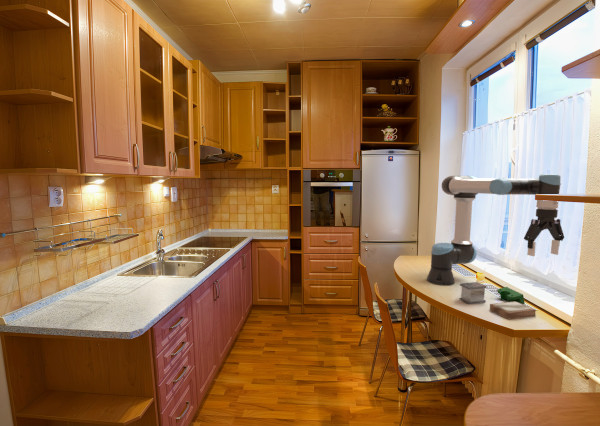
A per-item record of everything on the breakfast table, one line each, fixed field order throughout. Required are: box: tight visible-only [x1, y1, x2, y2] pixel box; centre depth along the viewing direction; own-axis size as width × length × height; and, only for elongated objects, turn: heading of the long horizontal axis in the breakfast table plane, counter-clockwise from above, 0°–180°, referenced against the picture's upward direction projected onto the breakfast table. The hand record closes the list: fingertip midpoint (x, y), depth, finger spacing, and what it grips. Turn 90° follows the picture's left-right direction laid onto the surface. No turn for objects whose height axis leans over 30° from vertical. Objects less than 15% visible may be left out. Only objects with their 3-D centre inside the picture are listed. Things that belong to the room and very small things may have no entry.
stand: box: [489, 301, 537, 320], centre depth 139 cm, size 10×15×3 cm, turn 103°
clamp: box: [496, 286, 525, 305], centre depth 152 cm, size 12×6×9 cm, turn 177°
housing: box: [459, 281, 487, 305], centre depth 153 cm, size 6×10×9 cm, turn 103°
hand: (542, 254), depth 136 cm, fingers open, 13 cm apart
